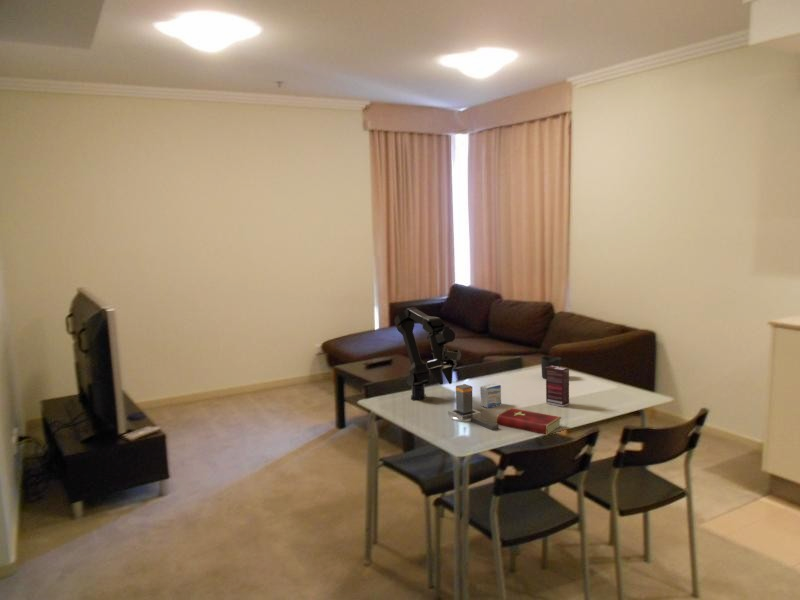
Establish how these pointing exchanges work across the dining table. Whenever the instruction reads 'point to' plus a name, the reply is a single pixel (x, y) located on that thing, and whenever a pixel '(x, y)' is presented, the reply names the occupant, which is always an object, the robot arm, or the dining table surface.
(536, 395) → the dining table surface
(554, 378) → the supplement box
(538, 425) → the hardcover book
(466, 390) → the grey orange-banded block
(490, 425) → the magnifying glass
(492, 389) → the medicine box
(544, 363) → the pen holder
